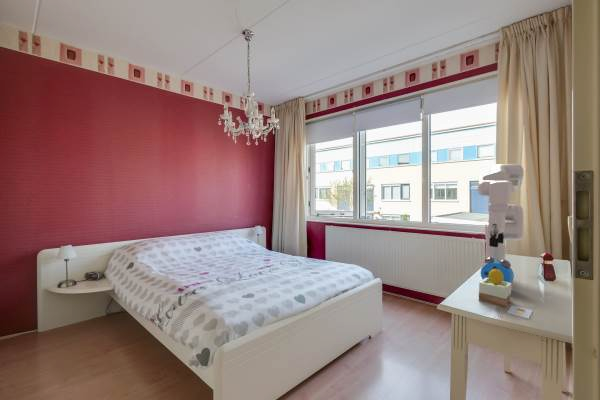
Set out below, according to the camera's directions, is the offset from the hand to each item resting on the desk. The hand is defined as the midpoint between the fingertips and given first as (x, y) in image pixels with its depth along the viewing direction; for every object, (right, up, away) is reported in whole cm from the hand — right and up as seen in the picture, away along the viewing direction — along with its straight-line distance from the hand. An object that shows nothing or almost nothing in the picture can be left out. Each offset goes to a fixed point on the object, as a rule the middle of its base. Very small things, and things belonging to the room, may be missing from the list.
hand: (496, 244), depth 130 cm
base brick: (-3, -25, -3) cm, 26 cm away
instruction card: (0, -26, -14) cm, 29 cm away
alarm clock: (+10, -24, +14) cm, 30 cm away
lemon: (-3, -18, -3) cm, 19 cm away
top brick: (-3, -21, -4) cm, 22 cm away
